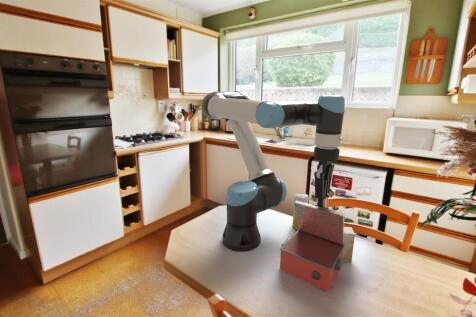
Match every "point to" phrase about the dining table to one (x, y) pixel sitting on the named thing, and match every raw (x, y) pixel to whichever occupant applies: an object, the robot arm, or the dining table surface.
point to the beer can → (299, 197)
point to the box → (348, 244)
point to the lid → (320, 222)
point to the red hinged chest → (311, 259)
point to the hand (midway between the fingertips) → (320, 215)
